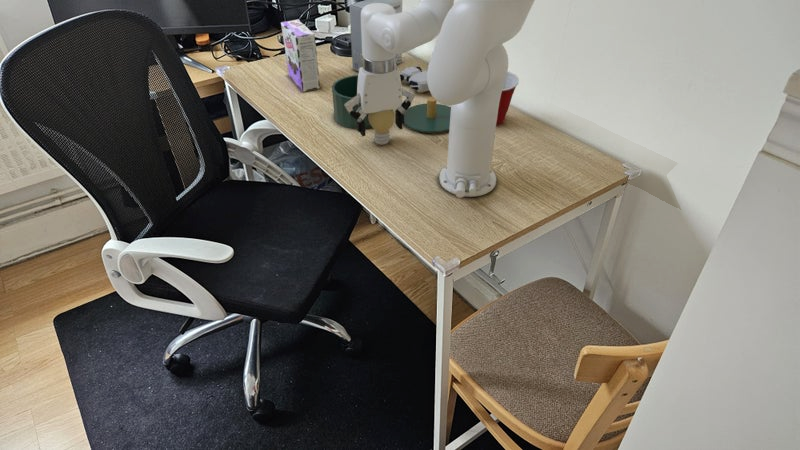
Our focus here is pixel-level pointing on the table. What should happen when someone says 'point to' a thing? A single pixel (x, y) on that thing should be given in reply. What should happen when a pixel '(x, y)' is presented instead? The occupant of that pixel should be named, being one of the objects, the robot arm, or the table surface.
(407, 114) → the green pot lid
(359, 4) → the hard drive box
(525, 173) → the table surface
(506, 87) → the plastic cup
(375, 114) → the light bulb
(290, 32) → the candy box
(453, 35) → the robot arm
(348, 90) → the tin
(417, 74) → the robot toy
